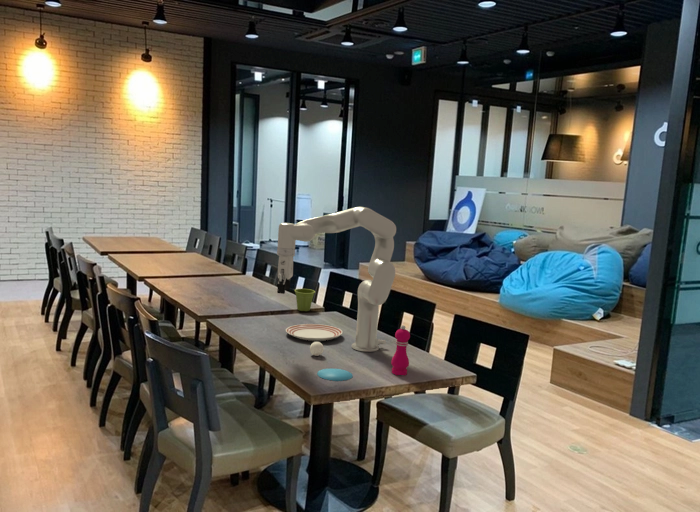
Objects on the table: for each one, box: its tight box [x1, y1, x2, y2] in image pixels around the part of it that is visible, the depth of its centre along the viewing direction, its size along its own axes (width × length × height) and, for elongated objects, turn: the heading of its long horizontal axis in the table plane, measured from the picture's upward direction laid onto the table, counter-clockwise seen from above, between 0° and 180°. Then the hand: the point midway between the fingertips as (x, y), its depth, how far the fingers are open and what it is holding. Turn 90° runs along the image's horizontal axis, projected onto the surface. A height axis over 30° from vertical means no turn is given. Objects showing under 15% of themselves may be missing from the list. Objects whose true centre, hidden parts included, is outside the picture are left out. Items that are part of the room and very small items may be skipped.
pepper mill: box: [390, 325, 411, 376], centre depth 244 cm, size 7×7×20 cm
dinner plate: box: [285, 323, 343, 342], centre depth 292 cm, size 27×27×3 cm
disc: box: [316, 367, 354, 382], centre depth 238 cm, size 14×14×1 cm
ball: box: [309, 341, 325, 357], centre depth 261 cm, size 6×6×6 cm
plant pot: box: [294, 288, 316, 312], centre depth 344 cm, size 12×12×11 cm
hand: (283, 291), depth 260 cm, fingers open, 9 cm apart
